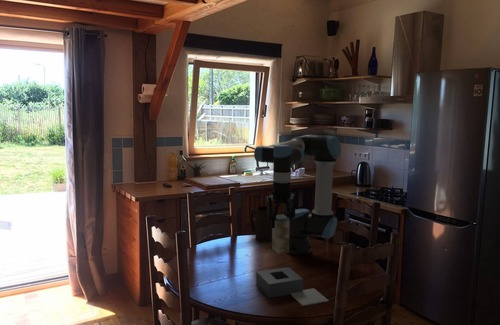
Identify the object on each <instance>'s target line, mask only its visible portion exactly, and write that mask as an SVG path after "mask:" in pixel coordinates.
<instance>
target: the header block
mask: <svg viewBox="0 0 500 325" xmlns="http://www.w3.org/2000/svg"><path fill="white" fill-rule="evenodd" d="M255 276H256V277H255V278H256V280H255V281H256V286H257V287H258V288H259V289H260V291H262V292H263V293H264V295H266V296H267V298H268V299H270V298H276V297H283V296H288V295H290V293H295V292H301V291H303V290H304V278H303V277H302V276H300V275H299V274H298V273H296V271H294V270H293V269H292V268H290V267H288V266H287V267H281V268H273V269H272V268H271V269H265V270H258V271H257V270H256V275H255ZM290 296H291V295H290Z"/></svg>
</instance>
